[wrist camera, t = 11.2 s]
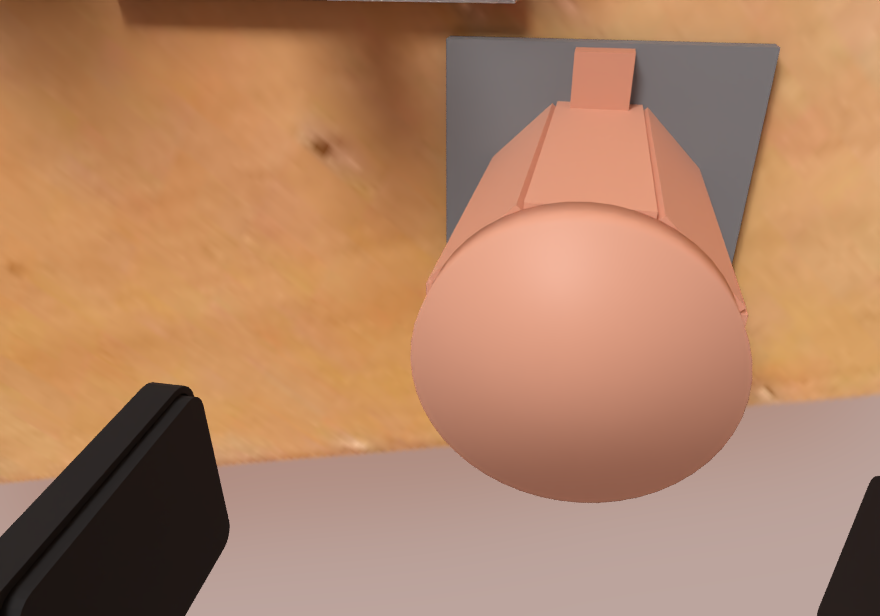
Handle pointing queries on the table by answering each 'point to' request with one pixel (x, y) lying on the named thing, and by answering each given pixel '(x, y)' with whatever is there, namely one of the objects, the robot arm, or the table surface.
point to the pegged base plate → (455, 0)
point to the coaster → (654, 86)
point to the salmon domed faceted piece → (586, 306)
